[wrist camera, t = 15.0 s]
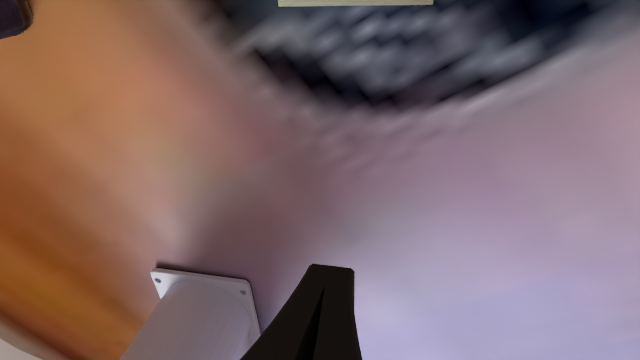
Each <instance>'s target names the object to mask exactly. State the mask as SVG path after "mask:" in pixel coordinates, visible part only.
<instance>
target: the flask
mask: <svg viewBox="0 0 640 360" xmlns="http://www.w3.org/2000/svg"><path fill="white" fill-rule="evenodd" d="M32 23H33V14H32V12H31V11H30V8H29V5H28V2H27V1H26V0H0V39H3V38H7V37H11V36H16V35H18V34H21V33H22V32H23V33H24V31H26V30H27V29H28V28H29V27H30V26H31V24H32Z"/></svg>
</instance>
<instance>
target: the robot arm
mask: <svg viewBox="0 0 640 360" xmlns="http://www.w3.org/2000/svg"><path fill="white" fill-rule="evenodd" d="M150 274H151V277H152V279H153V282H154V284H155V286H156V289H157V291H158V293H159V296H160V298H161V300H160V302H159V303H158V304H157V306H156V307H155V309H154V310H153V312H152V313H151V315H150V316H149V317H148V319H147V320H146V322H145V323H144V325H143V326H142V328H141V329H140V330H139V332H138V333H137V335H136V336H135V338H134V339H133V341H132V342H131V343H130V345H129V346H128V348H127V349H126V351H125V352H124V354H123V355H122V356H121V358H120V359H119V360H362V356H361V351H360V347H359V341H358V336H357V329H356V322H355V315H354V271H353V270H352V269H351V268H344V267H336V266H327V265H319V264H312V265H310V266H309V268H308V269H307V271H306V273H305V275H304V276H303V278H302V279H301V281H300V283H299V284H298V286H297V287H296V289H295V290H294V292H293V293H292V295H291V296H290V298H289V299H288V301H287V302H286V303H285V305H284V306H283V307H282V309H281V310H280V311H279V313H278V314H277V316H276V317H275V318H274V320H273V321H272V322H271V323H270V325H269V326H268V327H267V328H266V329H265V331H264V332H263V333H262V334H261V333H260V328H259V324H258V319H257V314H256V310H255V305H254V301H253V296H252V291H251V287H250V284H249V282H248V281H246V280H242V279H235V278H227V277H220V276H213V275H205V274H198V273H190V272H183V271H175V270H168V269H160V268H154V269H153V270H152V271H151V273H150Z"/></svg>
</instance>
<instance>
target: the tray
mask: <svg viewBox="0 0 640 360" xmlns="http://www.w3.org/2000/svg"><path fill="white" fill-rule="evenodd" d="M367 5H433V0H278V6H279V7H288V6H367Z"/></svg>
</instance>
